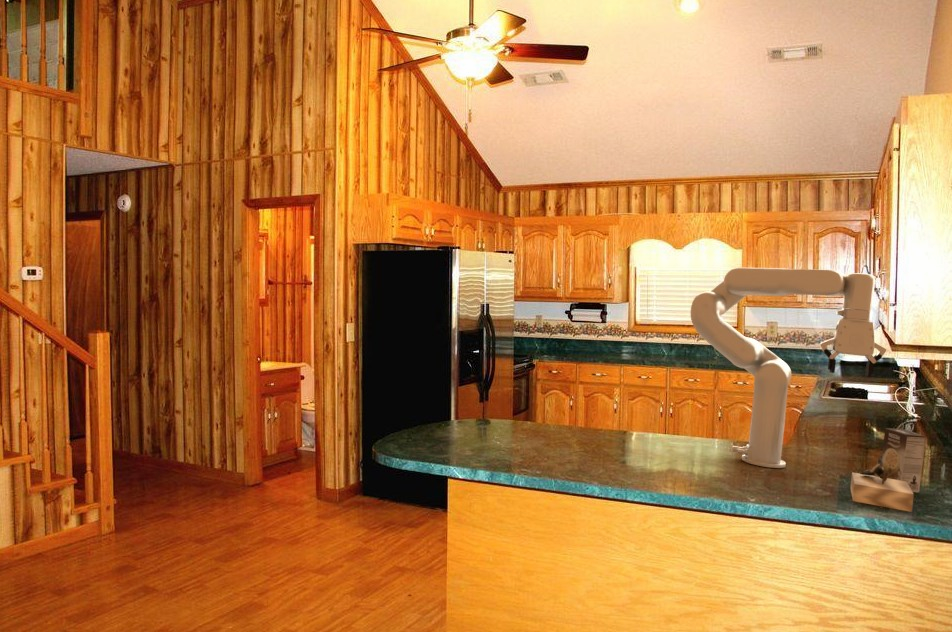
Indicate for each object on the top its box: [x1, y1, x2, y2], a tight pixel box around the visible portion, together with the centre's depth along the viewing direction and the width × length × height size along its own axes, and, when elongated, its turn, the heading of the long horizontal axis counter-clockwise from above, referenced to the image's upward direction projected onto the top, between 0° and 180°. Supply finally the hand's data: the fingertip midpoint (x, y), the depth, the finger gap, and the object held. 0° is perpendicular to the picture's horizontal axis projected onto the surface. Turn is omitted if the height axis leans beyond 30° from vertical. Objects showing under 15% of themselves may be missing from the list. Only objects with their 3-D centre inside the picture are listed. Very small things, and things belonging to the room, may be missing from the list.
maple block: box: [849, 471, 914, 513], centre depth 185 cm, size 13×15×5 cm
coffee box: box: [881, 427, 927, 493], centre depth 200 cm, size 9×6×16 cm
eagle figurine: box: [860, 454, 900, 484], centre depth 188 cm, size 8×7×9 cm
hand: (849, 374), depth 206 cm, fingers open, 9 cm apart
